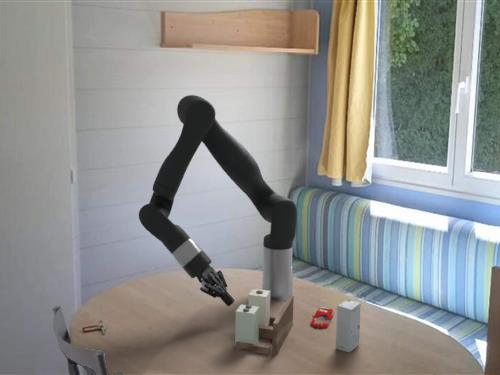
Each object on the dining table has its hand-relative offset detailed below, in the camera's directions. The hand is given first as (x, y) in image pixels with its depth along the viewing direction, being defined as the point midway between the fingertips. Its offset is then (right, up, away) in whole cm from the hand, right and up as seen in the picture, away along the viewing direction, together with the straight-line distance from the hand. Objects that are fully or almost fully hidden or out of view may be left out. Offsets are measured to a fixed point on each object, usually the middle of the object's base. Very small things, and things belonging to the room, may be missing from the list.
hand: (231, 303), depth 181 cm
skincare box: (+31, -10, -9) cm, 34 cm away
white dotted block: (+8, -6, -1) cm, 10 cm away
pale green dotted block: (+4, -9, -12) cm, 16 cm away
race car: (+26, -7, +5) cm, 28 cm away
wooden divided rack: (+7, -9, -7) cm, 13 cm away
